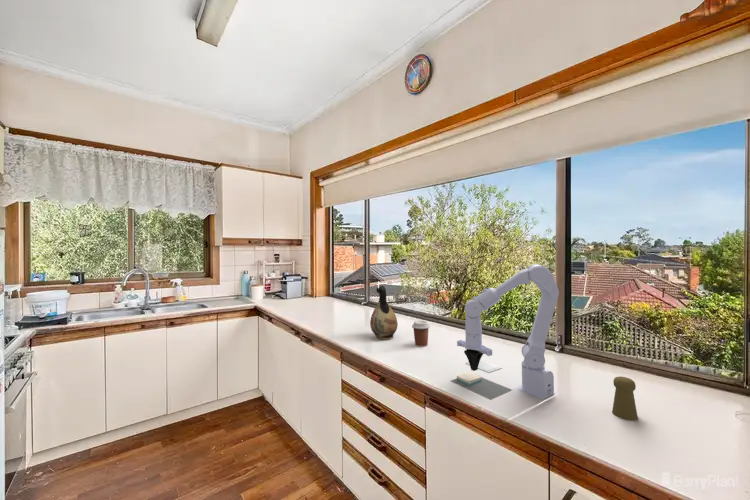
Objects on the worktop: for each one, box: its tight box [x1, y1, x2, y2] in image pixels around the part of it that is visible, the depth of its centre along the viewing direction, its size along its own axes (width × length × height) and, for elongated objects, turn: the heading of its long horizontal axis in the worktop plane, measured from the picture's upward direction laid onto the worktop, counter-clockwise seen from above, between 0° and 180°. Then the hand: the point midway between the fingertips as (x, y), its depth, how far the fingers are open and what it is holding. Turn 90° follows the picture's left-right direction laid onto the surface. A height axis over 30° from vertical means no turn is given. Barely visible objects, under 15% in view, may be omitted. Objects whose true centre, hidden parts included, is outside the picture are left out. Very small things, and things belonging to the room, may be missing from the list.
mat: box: [450, 377, 513, 401], centre depth 115 cm, size 18×12×1 cm, turn 33°
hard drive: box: [465, 359, 503, 374], centre depth 133 cm, size 2×8×12 cm
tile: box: [456, 371, 483, 386], centre depth 119 cm, size 2×7×6 cm
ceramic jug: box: [369, 285, 398, 341], centre depth 178 cm, size 17×15×30 cm
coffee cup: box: [411, 320, 431, 348], centre depth 164 cm, size 9×9×12 cm
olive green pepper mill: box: [611, 376, 639, 422], centre depth 94 cm, size 6×6×11 cm
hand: (474, 369), depth 117 cm, fingers closed
